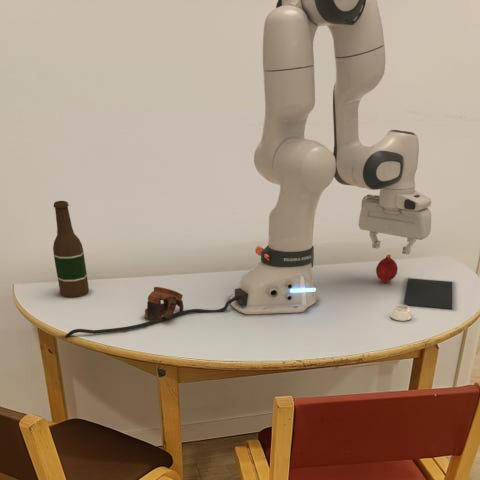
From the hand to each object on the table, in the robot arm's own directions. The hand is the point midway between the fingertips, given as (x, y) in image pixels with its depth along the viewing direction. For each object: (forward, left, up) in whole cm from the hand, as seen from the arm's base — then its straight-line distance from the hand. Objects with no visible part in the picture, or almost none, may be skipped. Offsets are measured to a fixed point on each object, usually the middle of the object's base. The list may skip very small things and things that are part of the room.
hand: (390, 250), depth 165 cm
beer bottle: (-86, +17, -9) cm, 88 cm away
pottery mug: (-65, -8, -9) cm, 66 cm away
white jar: (-10, -26, -9) cm, 29 cm away
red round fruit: (-1, 0, -9) cm, 9 cm away
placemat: (+6, -12, -9) cm, 16 cm away
